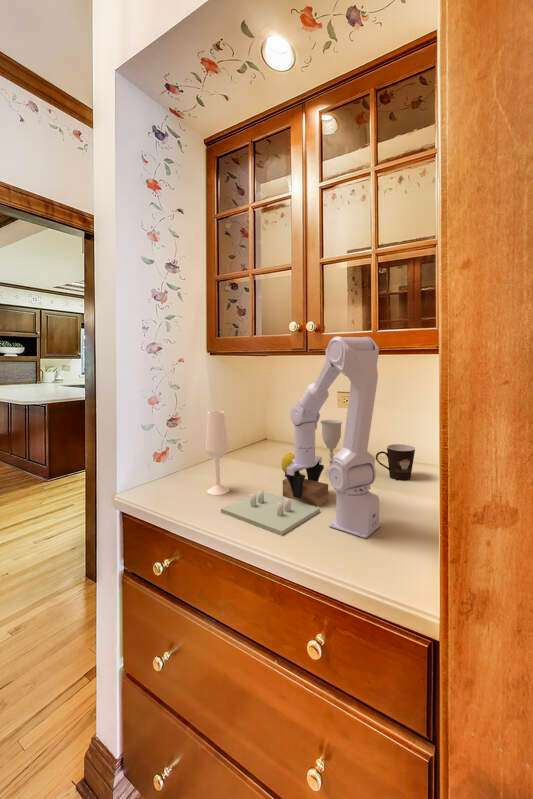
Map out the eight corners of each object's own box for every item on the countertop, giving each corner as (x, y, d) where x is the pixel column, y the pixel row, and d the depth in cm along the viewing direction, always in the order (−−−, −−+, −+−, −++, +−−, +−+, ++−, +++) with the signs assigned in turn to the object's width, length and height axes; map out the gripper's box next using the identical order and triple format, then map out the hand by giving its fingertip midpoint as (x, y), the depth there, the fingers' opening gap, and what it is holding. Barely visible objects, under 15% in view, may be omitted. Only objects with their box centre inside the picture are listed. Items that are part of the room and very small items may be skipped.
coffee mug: (415, 475, 122) (415, 445, 121) (413, 483, 114) (414, 452, 113) (378, 470, 127) (379, 442, 125) (374, 478, 119) (375, 448, 118)
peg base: (319, 511, 95) (319, 496, 94) (281, 535, 83) (281, 518, 82) (261, 493, 108) (261, 480, 107) (221, 512, 96) (220, 497, 95)
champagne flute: (220, 496, 106) (217, 414, 103) (202, 492, 110) (199, 413, 107) (234, 489, 112) (231, 411, 109) (216, 485, 115) (213, 409, 113)
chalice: (341, 470, 127) (341, 419, 125) (343, 477, 121) (343, 423, 118) (319, 470, 128) (319, 419, 126) (320, 477, 121) (320, 423, 119)
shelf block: (328, 501, 102) (328, 484, 101) (318, 507, 98) (318, 489, 97) (293, 491, 110) (292, 475, 109) (282, 497, 106) (282, 480, 105)
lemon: (288, 472, 127) (287, 449, 126) (301, 475, 124) (301, 452, 123) (278, 476, 123) (278, 453, 122) (291, 479, 119) (291, 455, 118)
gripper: (307, 439, 110) (307, 483, 112) (277, 449, 99) (277, 497, 101) (328, 442, 105) (327, 488, 107) (298, 453, 94) (299, 504, 96)
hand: (305, 493), depth 104 cm, fingers open, 7 cm apart
